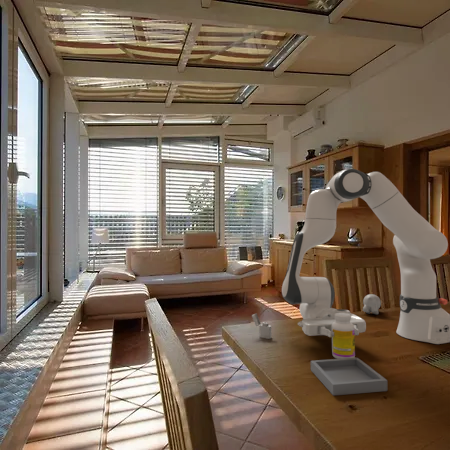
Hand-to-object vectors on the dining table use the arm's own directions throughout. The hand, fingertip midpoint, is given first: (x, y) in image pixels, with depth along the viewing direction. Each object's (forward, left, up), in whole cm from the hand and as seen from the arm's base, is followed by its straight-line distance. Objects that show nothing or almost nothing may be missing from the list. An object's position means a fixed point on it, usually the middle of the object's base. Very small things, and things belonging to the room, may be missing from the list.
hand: (344, 333), depth 103 cm
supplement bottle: (0, -1, -7) cm, 8 cm away
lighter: (+20, -23, -8) cm, 32 cm away
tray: (+6, +13, -7) cm, 16 cm away
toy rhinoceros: (-36, -45, -8) cm, 58 cm away
